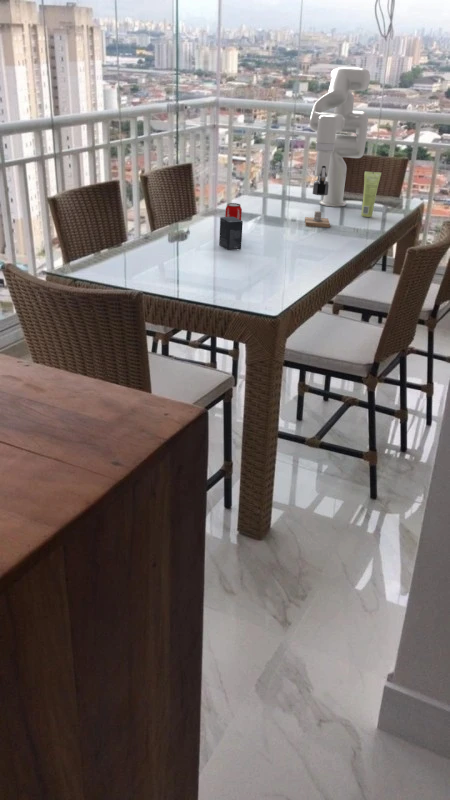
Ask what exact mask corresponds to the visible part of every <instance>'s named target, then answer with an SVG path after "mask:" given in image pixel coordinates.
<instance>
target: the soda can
mask: <svg viewBox="0 0 450 800" xmlns="http://www.w3.org/2000/svg"><path fill="white" fill-rule="evenodd" d="M242 212H243V211H242V206H241V204H240V203H235V202H228V203H227V205H226V206H225V214H224V215H225V216H224V217H235V218H237V219H239V220H241V221H242V215H243V214H242Z"/></svg>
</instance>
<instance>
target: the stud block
mask: <svg viewBox="0 0 450 800" xmlns="http://www.w3.org/2000/svg"><path fill="white" fill-rule="evenodd" d="M304 223H305V227H315V228H316V227H317V228H318V227H319V228H330V226H331V225H330V224H331V223H330V220H329V218H326V217H325V218H324V217H322V211H318V210H316V211H314V217H310V216H308V217H307V216H305V217H304Z"/></svg>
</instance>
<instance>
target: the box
mask: <svg viewBox="0 0 450 800" xmlns="http://www.w3.org/2000/svg"><path fill="white" fill-rule="evenodd" d="M242 237H243V220H242V219H241V220H239V219H237V218H235V217H225V216H221V217H220V218H219V240H218V242H219V243H218V245H219V246H220V247H222V248H223V249H226V250H227V251H237V249H239V250H242V242H243V240H242V239H243V238H242Z"/></svg>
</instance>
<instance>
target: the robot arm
mask: <svg viewBox="0 0 450 800" xmlns="http://www.w3.org/2000/svg"><path fill="white" fill-rule="evenodd" d="M329 77H330V78H329V80H330V84H329V86H328V91H327V93H325V94H324V95H322V96H321V97H320V98H319V99H317V100H316V101H315V103H314V105H313V106H312V110H311V113H310V116H309V128H310V130H312V131H313V132H316V142H315V152H317V153H316V154H317V155H316V160H315V161H316V162H315V170H314V175H315V177H317V180H319V184H318V187H317V194H325V186H326V184H325V182H326V181H327V182H329V183H328V185H329V187H328V195H322V196H323V198H322V199H320V200H319V204H320V206H321V205H322V206H326V207H331V208H332V207H333V208H338V207H339V208H341V207H345V206H346V204H347V202H346V201H344V193H345V184H346V179H347V178H346V177H347V169H348V168H347V167H348V166H347V164H346V162H345V160H344V158H350V159H361V158H362V157H363V156H364V154H365V150H366V141H367V134H368V126H369V117H368V114H367V112H366V111H364V110H355V109H354V103H355V98H354V95H353V93H352V91H360V92H361V91H363V92H364V91H366V90H367V89H368V88H369V86H370V83H371V82H370V81H371V75H370V71H369V70H368V69H367V68H363V67H354V66H353V67H352V66H350V67H349V66H340V67H337V68H334V69H332V70H331V72H330V75H329ZM328 110H333V112H326V111H328ZM338 133H351V134H355V135H356V136H355V135H347V134H346V135H345V134H338Z"/></svg>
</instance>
